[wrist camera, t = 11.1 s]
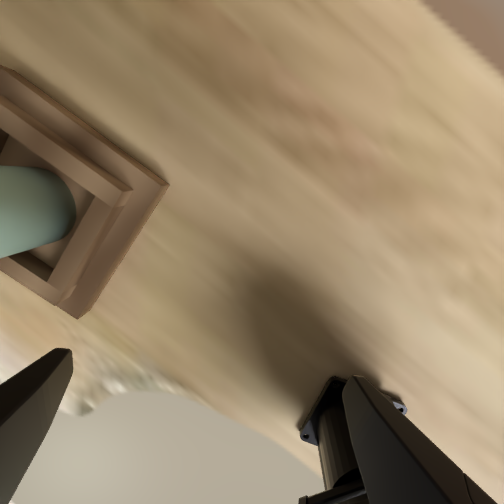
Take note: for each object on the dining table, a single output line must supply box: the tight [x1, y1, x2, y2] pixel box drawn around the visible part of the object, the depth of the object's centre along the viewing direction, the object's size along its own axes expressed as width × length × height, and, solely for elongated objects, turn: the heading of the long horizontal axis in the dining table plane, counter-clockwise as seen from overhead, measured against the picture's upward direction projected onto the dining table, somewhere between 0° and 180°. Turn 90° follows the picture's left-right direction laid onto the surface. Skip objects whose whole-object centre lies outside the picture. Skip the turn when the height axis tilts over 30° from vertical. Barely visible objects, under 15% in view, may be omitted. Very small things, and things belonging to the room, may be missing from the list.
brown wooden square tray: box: [0, 65, 169, 320], centre depth 19 cm, size 12×12×3 cm
